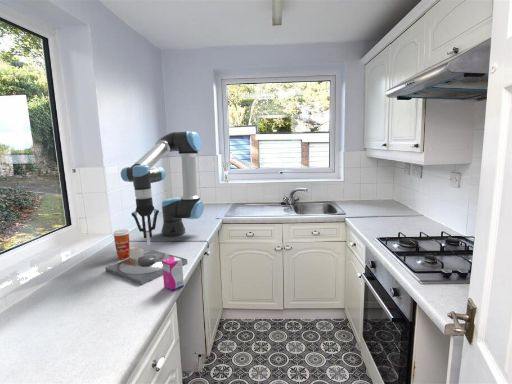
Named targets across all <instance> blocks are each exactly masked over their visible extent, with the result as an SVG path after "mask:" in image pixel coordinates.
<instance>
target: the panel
mask: <svg viewBox="0 0 512 384" xmlns="http://www.w3.org/2000/svg"><path fill="white" fill-rule="evenodd" d="M143 253H144V256H146V255H154V256H156V262H155V263H154V264H151V265H146V266H141V265H139V264H138V260H135V259H132V258H130V256H129V257H128V258H126V259H123V260H122V261H119V262H116V263H113V264H110V265H107V266H105V269H104V270H105V272H106V273H109V274H112V275H113V276H117V277H118V278H119V277H120V278H122V279H124V280H126V281H129V282H132V283H135V284H137V285H140V286H142V285H144V284H146V283H149V282H151V281H153V280H154V279H157V278H160V277H161V276H163V269H162V261H163V260H166V259H168V258H171V257H176V258H179V259H182V267H183V266H185V265H186V264H188V258H184V257H180V256H178V255H177V256H176V255H173V254H171V253H169V252H168V253H167V252H166V253H165V252H162V251H158V250H156V249H155V250H153V249H150V250H148V251H146V252H143Z"/></svg>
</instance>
